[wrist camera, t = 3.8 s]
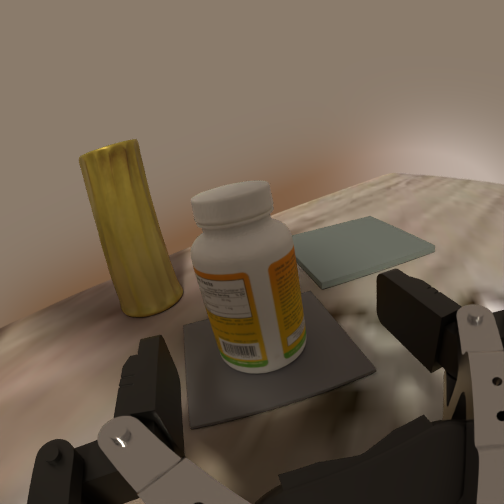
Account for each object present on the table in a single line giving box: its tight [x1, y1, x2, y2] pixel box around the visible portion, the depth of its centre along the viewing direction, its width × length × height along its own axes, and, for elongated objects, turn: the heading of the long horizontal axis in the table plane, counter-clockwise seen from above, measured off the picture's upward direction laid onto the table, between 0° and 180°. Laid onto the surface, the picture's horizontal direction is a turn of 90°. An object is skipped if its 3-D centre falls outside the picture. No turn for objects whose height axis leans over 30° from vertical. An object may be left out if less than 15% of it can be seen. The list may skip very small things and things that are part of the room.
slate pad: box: [292, 216, 435, 289], centre depth 31 cm, size 12×12×1 cm
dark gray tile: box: [184, 291, 376, 429], centre depth 19 cm, size 10×10×1 cm
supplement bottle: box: [191, 181, 306, 374], centre depth 17 cm, size 5×5×10 cm
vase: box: [79, 139, 183, 317], centre depth 26 cm, size 6×6×14 cm
